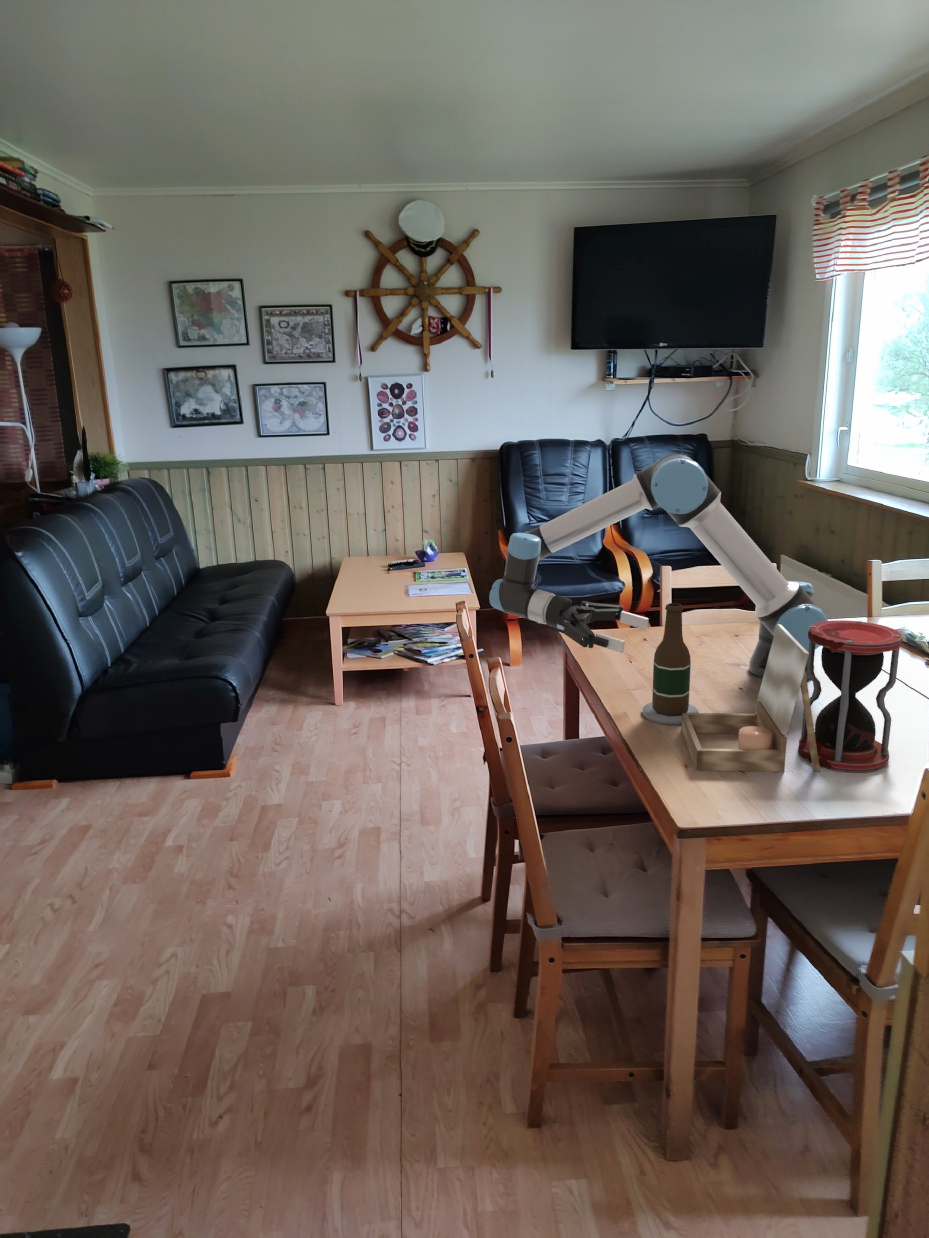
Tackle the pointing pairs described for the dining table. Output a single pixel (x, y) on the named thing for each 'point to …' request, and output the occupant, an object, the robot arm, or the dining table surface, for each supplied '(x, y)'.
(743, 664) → the dining table surface
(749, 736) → the tan rounded block
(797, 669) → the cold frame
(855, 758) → the hourglass
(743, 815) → the dining table surface
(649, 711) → the coaster
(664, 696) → the beer bottle
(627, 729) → the dining table surface
